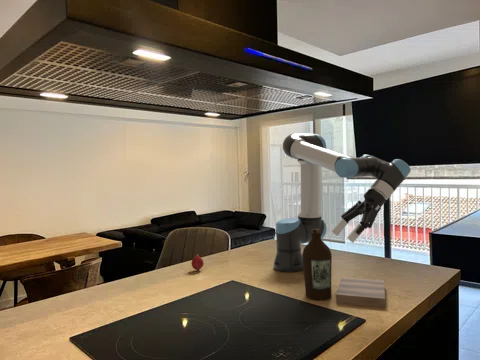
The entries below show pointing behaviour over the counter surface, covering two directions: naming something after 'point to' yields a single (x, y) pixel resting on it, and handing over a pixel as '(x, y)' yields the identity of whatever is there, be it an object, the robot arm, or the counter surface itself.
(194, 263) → the onion
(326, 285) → the olive oil
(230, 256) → the counter surface
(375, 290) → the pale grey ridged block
